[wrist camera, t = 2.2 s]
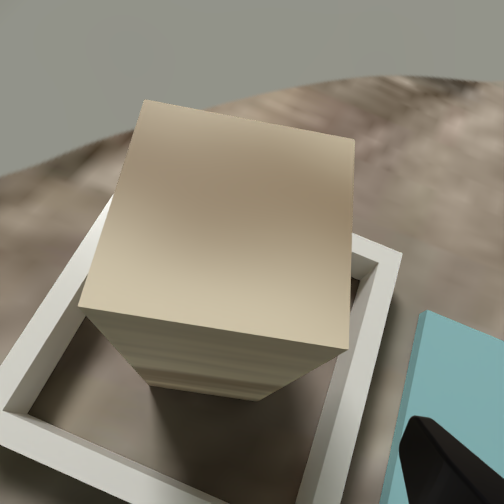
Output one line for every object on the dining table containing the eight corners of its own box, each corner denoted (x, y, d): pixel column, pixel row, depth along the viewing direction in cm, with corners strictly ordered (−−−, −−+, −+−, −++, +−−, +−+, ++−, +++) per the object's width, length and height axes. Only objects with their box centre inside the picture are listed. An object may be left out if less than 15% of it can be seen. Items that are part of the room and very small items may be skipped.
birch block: (257, 401, 19) (348, 349, 8) (149, 385, 19) (77, 306, 7) (269, 299, 21) (354, 139, 10) (172, 283, 21) (144, 99, 9)
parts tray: (302, 566, 17) (319, 587, 14) (-9, 428, 17) (-40, 426, 15) (381, 271, 22) (402, 253, 20) (148, 176, 23) (143, 148, 21)
